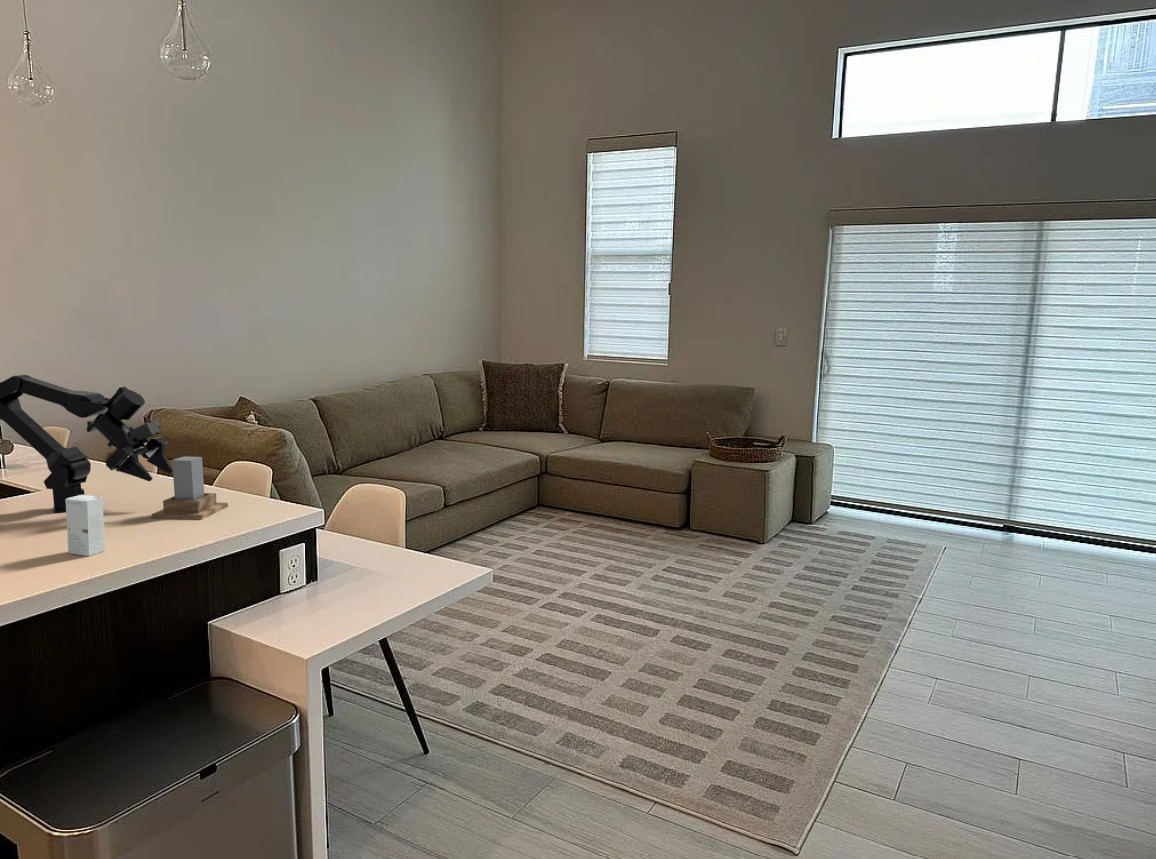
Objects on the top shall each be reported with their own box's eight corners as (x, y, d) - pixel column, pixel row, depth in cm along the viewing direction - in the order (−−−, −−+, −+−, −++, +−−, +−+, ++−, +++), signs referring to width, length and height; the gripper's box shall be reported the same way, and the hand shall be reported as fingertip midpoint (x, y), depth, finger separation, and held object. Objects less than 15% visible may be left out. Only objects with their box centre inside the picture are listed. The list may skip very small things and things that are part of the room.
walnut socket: (202, 519, 201) (201, 503, 200) (151, 518, 202) (150, 502, 201) (228, 506, 214) (227, 491, 213) (180, 505, 214) (179, 490, 214)
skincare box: (67, 554, 173) (62, 498, 171) (85, 548, 177) (81, 494, 175) (89, 556, 171) (84, 501, 169) (107, 550, 175) (103, 496, 173)
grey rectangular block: (194, 511, 205) (191, 460, 203) (175, 510, 205) (172, 460, 203) (205, 506, 210) (201, 457, 208) (186, 505, 210) (183, 456, 208)
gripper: (114, 415, 195) (161, 462, 196) (158, 406, 214) (201, 448, 215) (85, 447, 197) (131, 492, 198) (131, 434, 215) (174, 476, 216)
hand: (161, 476), depth 207 cm, fingers open, 9 cm apart
